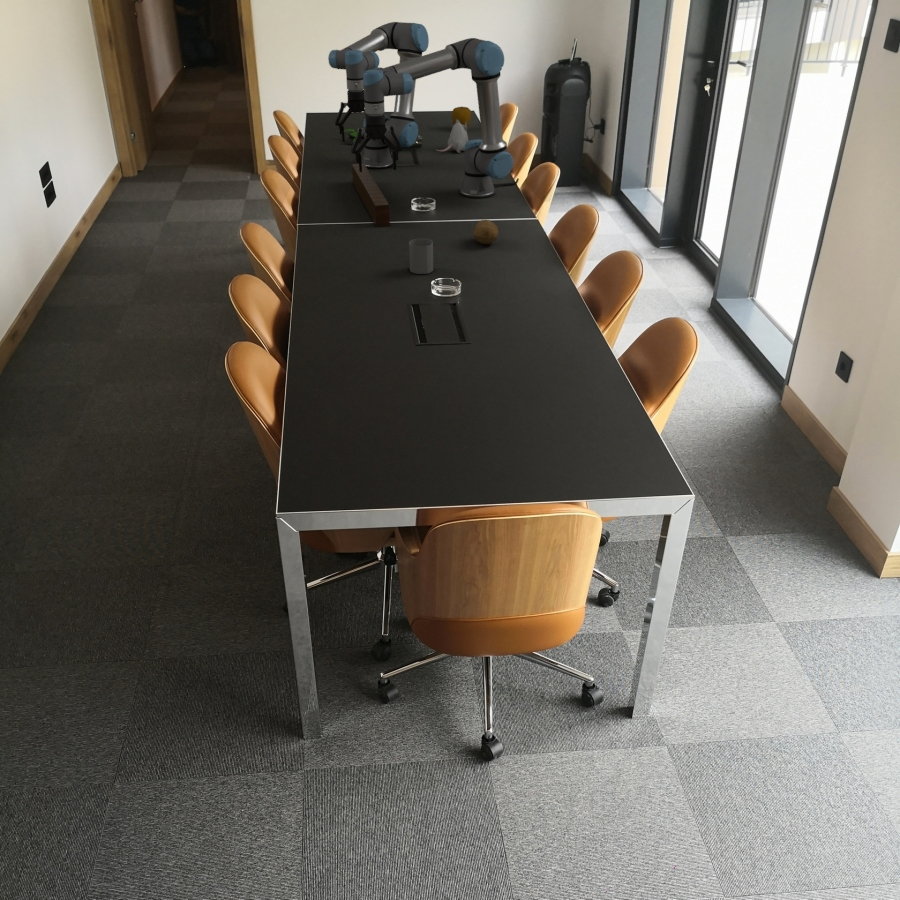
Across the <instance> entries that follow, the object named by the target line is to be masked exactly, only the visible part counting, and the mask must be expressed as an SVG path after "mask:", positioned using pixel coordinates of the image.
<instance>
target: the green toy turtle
mask: <svg viewBox="0 0 900 900" xmlns="http://www.w3.org/2000/svg"><path fill="white" fill-rule="evenodd" d="M345 132H349V133H347V136H348V137H347V139H348V140H350V141H345V142H343V141H342V139H338V141H340V142H342V143H344V144H345V145H346V144H347V145H353V143H354V141H355V138H356V136H357V133H358V130H356V129H355V128H344V133H345ZM363 140H364V133H363V134H362V135H361V138H360V140H359V142H360V141H361V142H362V141H363Z"/></svg>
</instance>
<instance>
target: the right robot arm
mask: <svg viewBox="0 0 900 900" xmlns="http://www.w3.org/2000/svg"><path fill="white" fill-rule="evenodd" d="M504 64H505V55H504V51H503V49H502V48H501V47H500V46H499V44H498V43H497V44H496V43H495V42H493V41H490V40H485V39H480V38H476V37H469V38H465V39H462V40H458V41H456V42H453V43H449V44H447V45H445V48H443V49H440V50H436V51H434V52H430V53H428V54H424V55H422V56H421V57H418V58H414V59H411V60H408V61H405V62H402V63H399V62H398V63H395V64H392V65H389V66H386V67H381V66H380V67H379V66H378V67H377V68H374V69H373V70H367V71H365V72H364V74H363V85H364V89H363V90H364V99H365V108H364V109H365V113H366V114H365V113H364V114H365V116H364V117H365V118H364V119H365V120H366V127H365V128H363V127H360V126H359V127H357V131H358V133H357V136H356V138H355V141H354V143H353V144H352V145H351V148H350V153H351V154H352V155H353V154H354V155H355V162H356V164H359V171H360V172H362V154H361V152H362V151H363V149H365V145H366V144H367V143H368V141H369V140H370V139H372V140H375V139H381V138H383V139H384V140H385V141H386V142H387V143H388V144H389V147H390V148H391V149H392V151H391V152H392V153H391V155H392V160H393V165H392V169H393V170H394V171H396V170H397V161H399V152H401V151H403V148H404V147H402V146H401V145H400V143H399V141H398V139H397V137H396V135H395V133H394V128H393V126H391V125H390V126H389V127H386V126H385V115H386V114H385V112H386V111H385V97H391V96H392V97H393V96H396V95H404V94H409V93H411V92H412V90H413V80H416V81H417V80H418V79H422V78H424V77H427V76H428V77H429V76H431V75H434V74H437V73H440V72H443V71H447V70H451V71H456V70H460V69H466V70H470V73H471V74H470V75H471V80H472V81H473V82H474V83H475V85H476V86H475V87H476V95H477V104H478V113H479V122H480V132H481V133H480V134H481V138H477V139H470V140H468V141H467V142H466V143H465V149H464V151H463V152H464V175H463V179H462V182H461V184H460V185H461V186H460V188H459V194H460V195H461V196H463V197H466V198H471V199H484V198H489V197H492V196H494V195H495V187H502V186H504V187H505V186H513V185H517V184H518V183H519V180H520V179H519V178H516V180H515V181H513V182H505V183H504V182H503V183H493V180H492V179H495V180H502V179H504V178H506V177H507V176H508V175H509V174H510V173H511V171H512V170H513V166H514V158H513V156H512V154H511V153H510V152H508V144H507V142H506V141H505V140H504V138H503V126H502V116H501V107H500V105H501V104H500V95H499V86H498V85H499V83H498V80H499V79H500V77H501V71H502V69H503V67H504ZM387 130H388V131H389V132H390V133H391V135H392V137H393V139H394V140H395V142H396V144H397V146H394V145H393V144H392V143H391V142H390V140H389V139H388V138H387V137H386V136H385V135H384V134H385V132H386V131H387ZM364 132H366V133H367V135H366V137H365V139H363V140H361V142H360V141H359V140H360V138H361V135H362V134H364ZM359 143H360V144H359ZM358 145H359V146H358Z"/></svg>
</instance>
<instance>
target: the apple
mask: <svg viewBox="0 0 900 900" xmlns="http://www.w3.org/2000/svg"><path fill="white" fill-rule="evenodd" d="M456 120H458V121H459V122H460V124H461V125H464V126H465V123H466V124H467V129H468V128H469V126H470V124H471V121H472V111H471V108H469V107H467V106H462V105H461V106H457V107H454V108H452V111H451V121H452V126H454V124H456Z"/></svg>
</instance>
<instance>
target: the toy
mask: <svg viewBox="0 0 900 900" xmlns="http://www.w3.org/2000/svg"><path fill="white" fill-rule="evenodd" d="M467 141H469V136H468V128H467V124H466V123H465V126H464V125H461V124H460V122H459V121H458V120H456V124H454V125H452V128H451V131H450V134H449V138H448V139H447V147H446V148H444V149H436V151H437V152H442V153H444V152H446V151H449V152H452V151H456V153H458V154H461V152H462V151H463V152H465V151H464V149H465V143H466V142H467Z"/></svg>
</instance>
